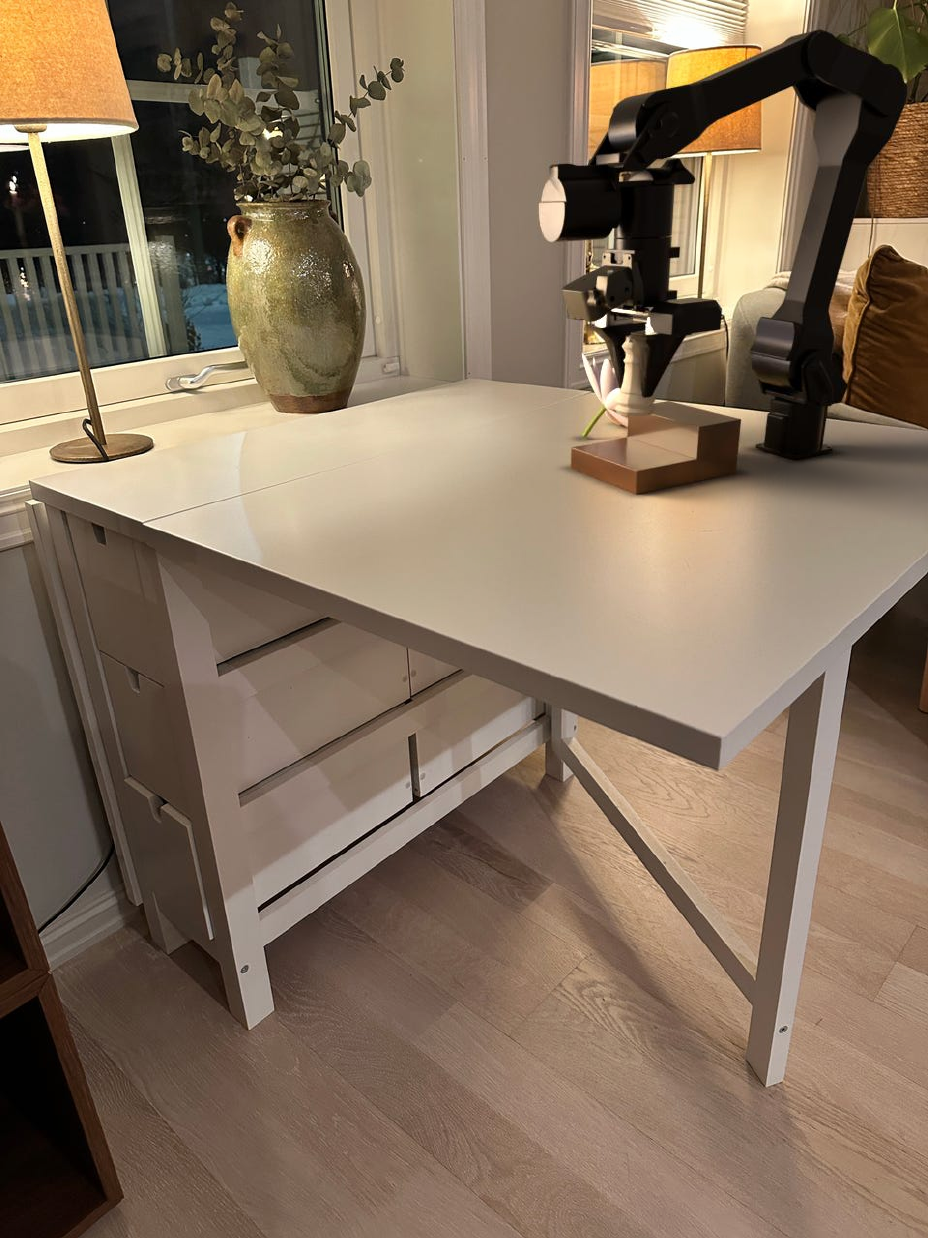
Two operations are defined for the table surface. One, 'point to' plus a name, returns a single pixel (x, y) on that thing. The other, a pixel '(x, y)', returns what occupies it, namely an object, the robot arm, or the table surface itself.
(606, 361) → the water lily
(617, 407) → the rook chess piece
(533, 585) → the table surface
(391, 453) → the table surface
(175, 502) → the table surface
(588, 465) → the step shelf
